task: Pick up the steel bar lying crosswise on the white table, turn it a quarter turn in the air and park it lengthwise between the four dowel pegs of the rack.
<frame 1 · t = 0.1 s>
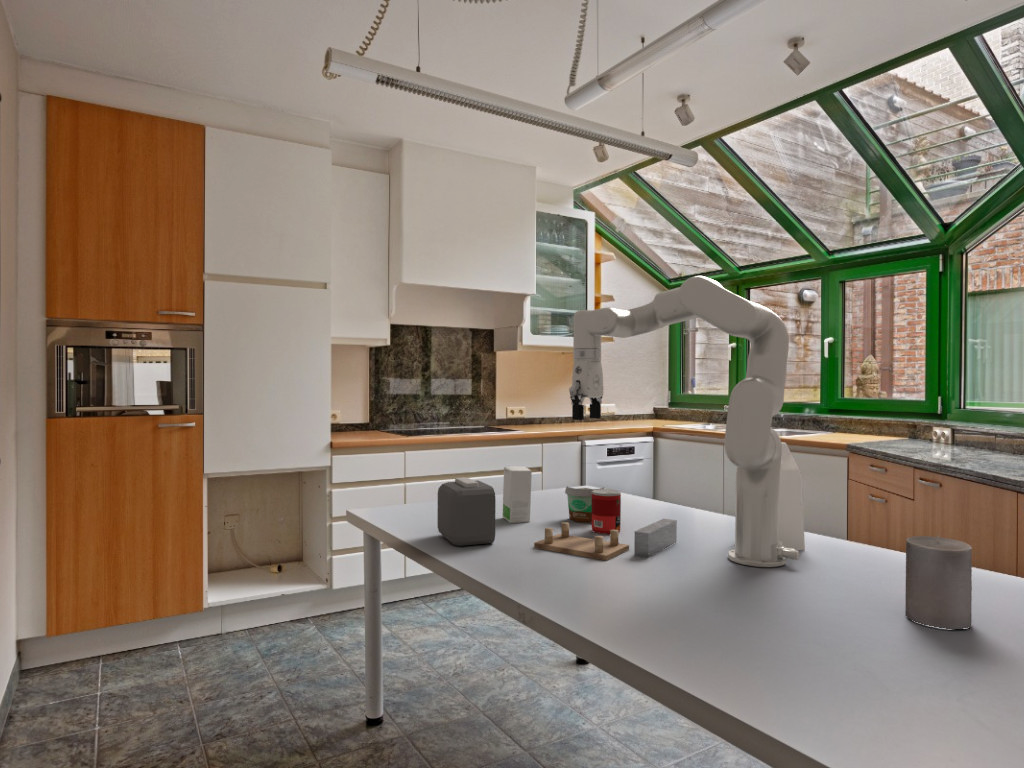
hand: (586, 419, 177), 31 cm above the table, tool pointing down, fingers open, 9 cm apart
rack: (581, 548, 161), on the table
alarm clock: (463, 540, 169), on the table
pillar candle: (937, 622, 113), on the table
milk: (772, 544, 167), on the table
food container: (583, 522, 192), on the table
steel bar: (656, 549, 161), on the table
skincare box: (516, 520, 194), on the table
canned food: (605, 531, 180), on the table
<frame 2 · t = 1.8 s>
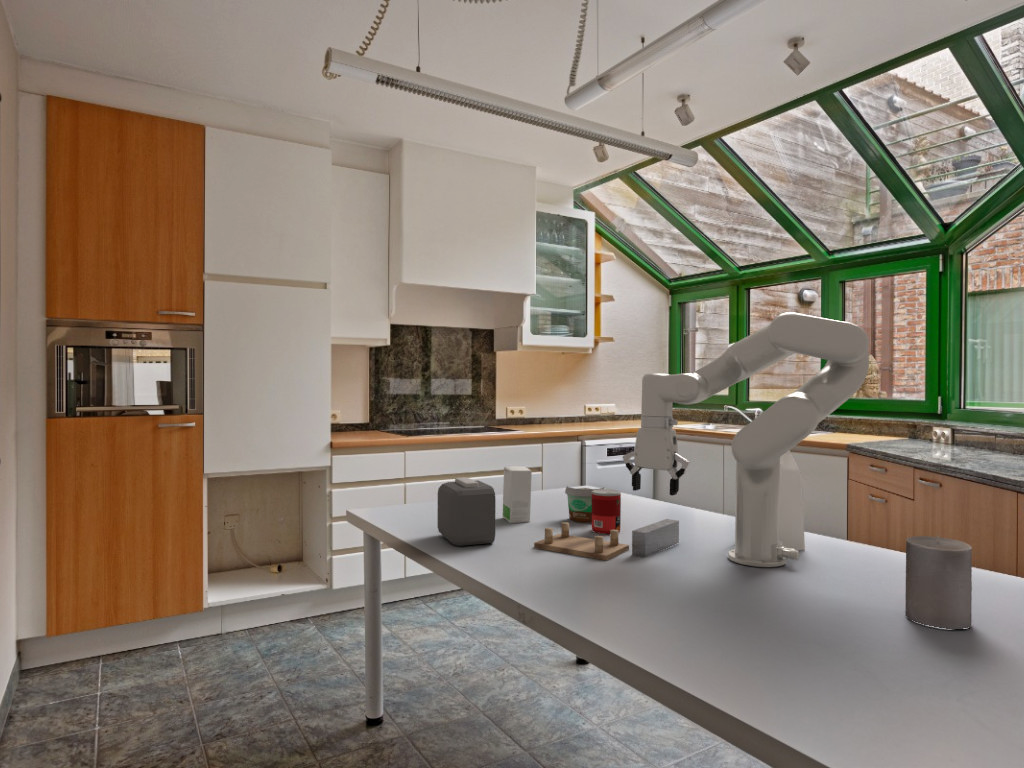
hand: (654, 492, 161), 14 cm above the table, tool pointing down, fingers open, 9 cm apart
nothing on the table moved.
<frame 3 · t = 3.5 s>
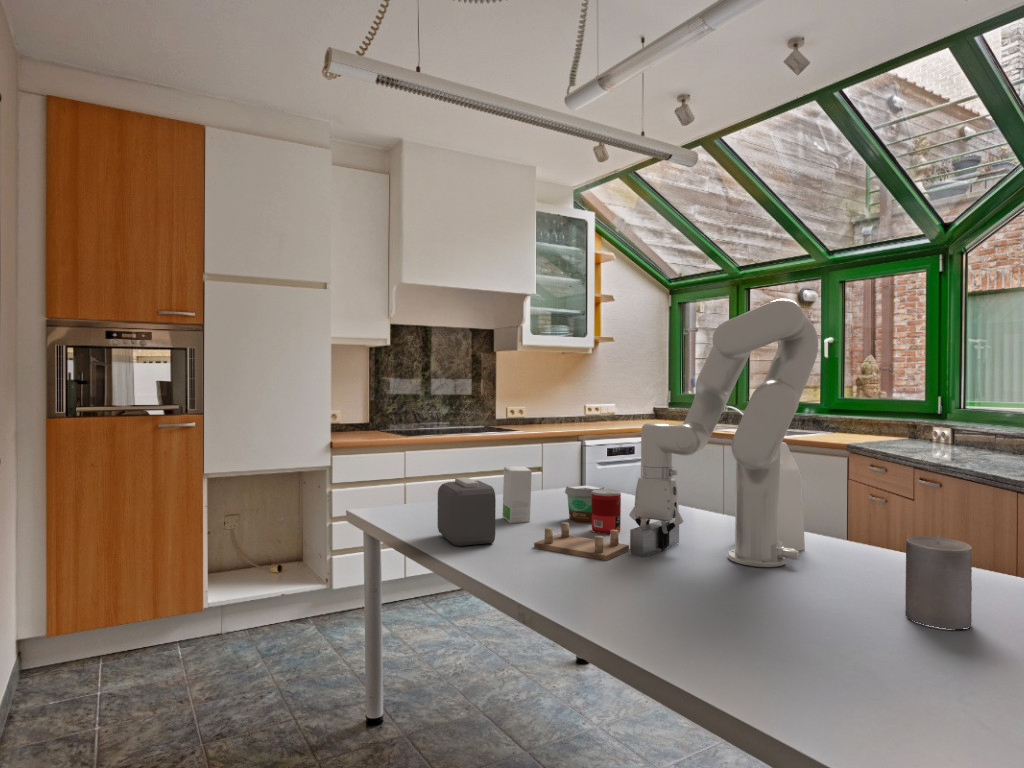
hand: (655, 546, 161), 1 cm above the table, tool pointing down, fingers closed on steel bar, 3 cm apart
steel bar: (655, 548, 161), on the table, touching gripper
everything else where it was.
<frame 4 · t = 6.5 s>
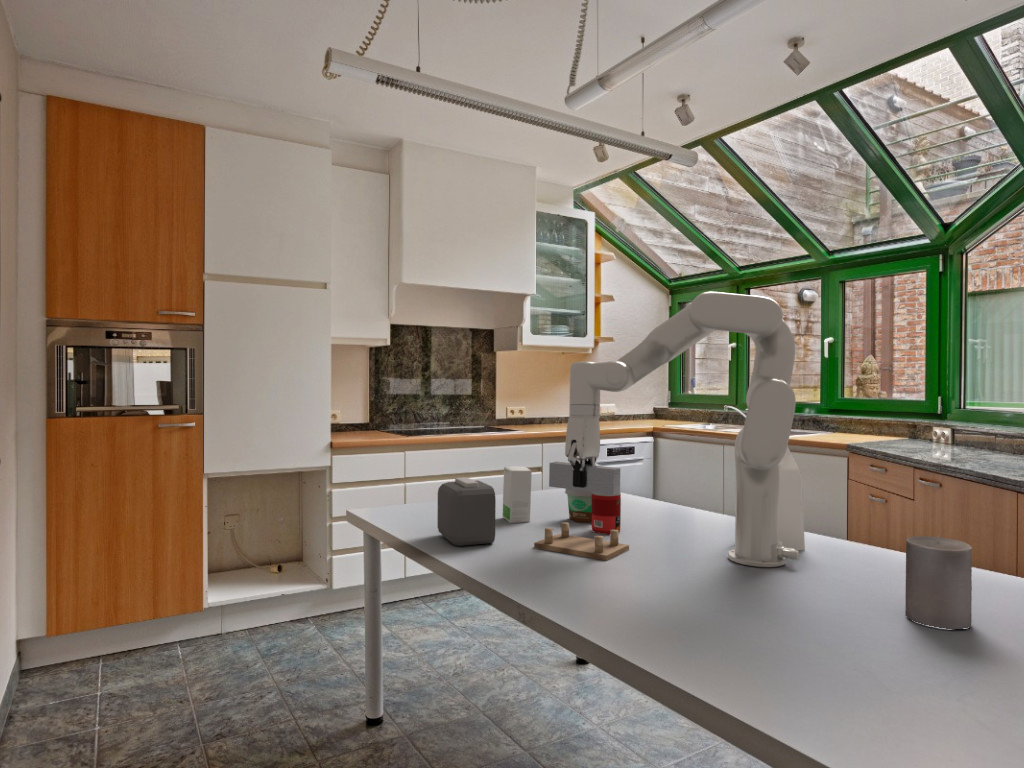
hand: (583, 485, 161), 16 cm above the table, tool pointing down, fingers closed on steel bar, 3 cm apart
steel bar: (583, 489, 161), point 15 cm above the table, touching gripper
everything else where it was.
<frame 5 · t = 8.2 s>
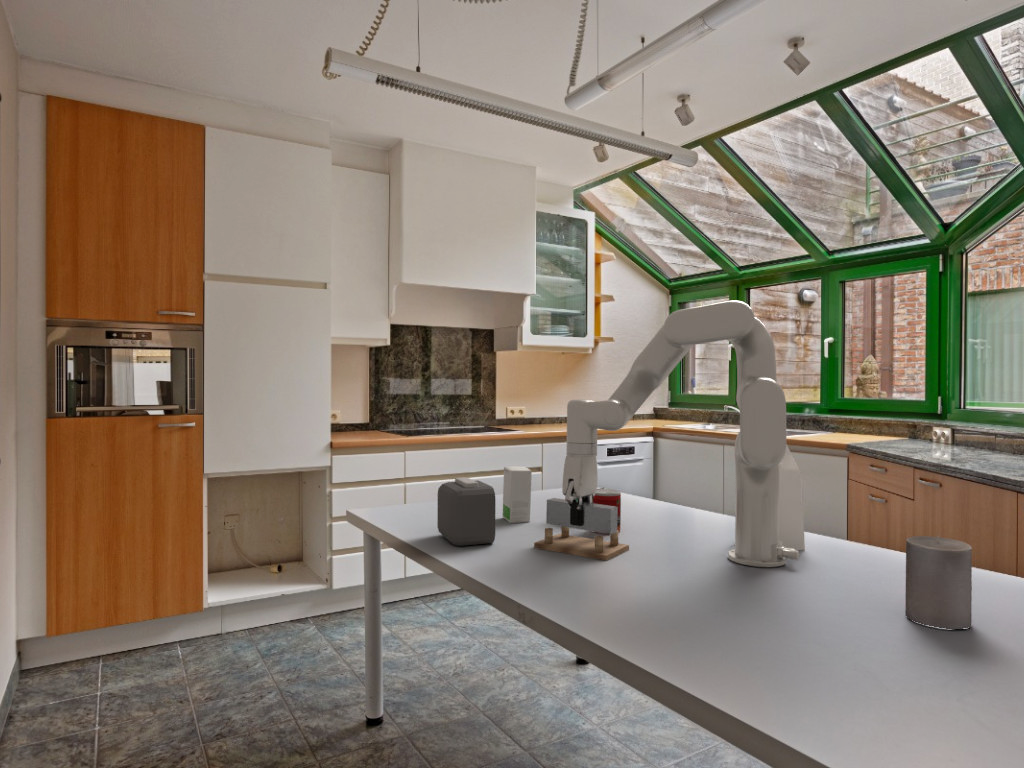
hand: (580, 523, 161), 6 cm above the table, tool pointing down, fingers closed on steel bar, 3 cm apart
steel bar: (580, 527, 161), point 5 cm above the table, touching gripper
everything else where it was.
when the fingers open (3 cm above the table, at t = 9.5 s): steel bar stays where it is, resting on rack.
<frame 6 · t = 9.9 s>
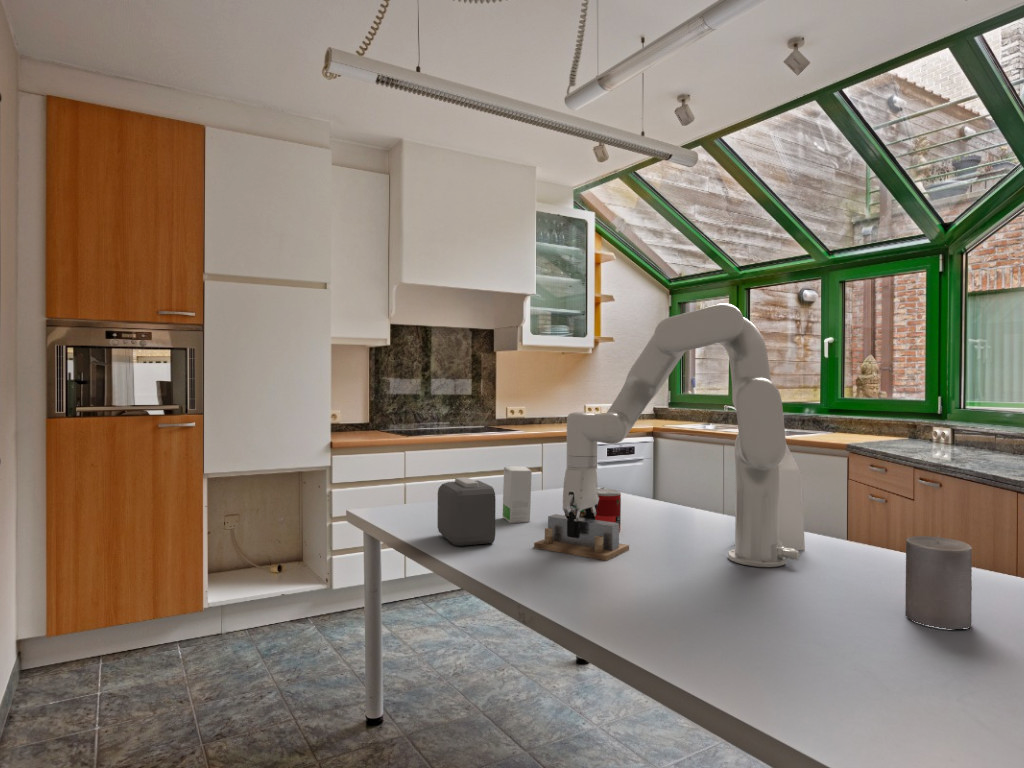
hand: (581, 533, 161), 4 cm above the table, tool pointing down, fingers open, 7 cm apart
steel bar: (582, 544, 161), point 1 cm above the table, touching rack
everything else where it was.
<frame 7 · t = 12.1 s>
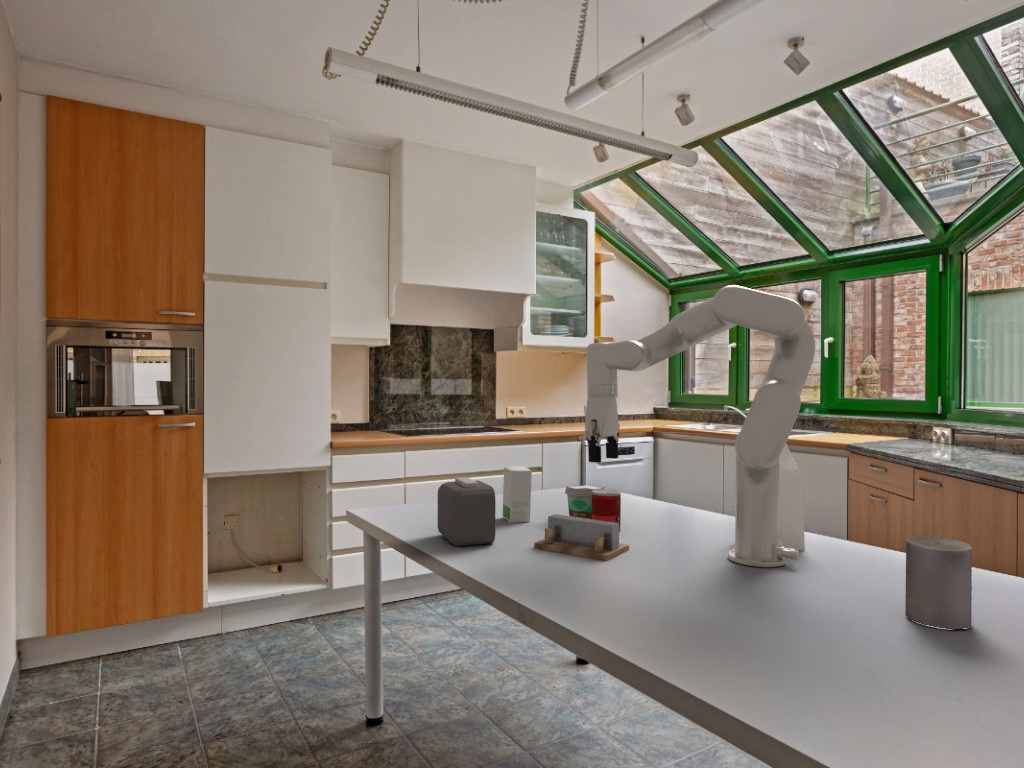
hand: (603, 460, 163), 22 cm above the table, tool pointing down, fingers open, 9 cm apart
nothing on the table moved.
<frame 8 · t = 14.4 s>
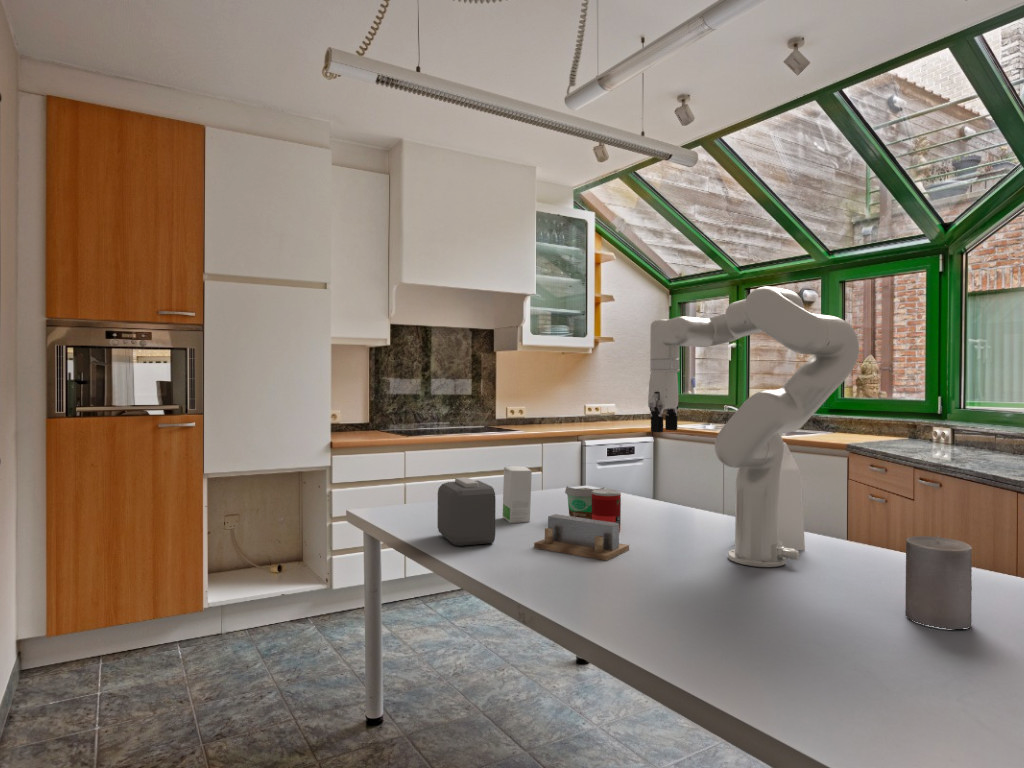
hand: (664, 431, 173), 28 cm above the table, tool pointing down, fingers open, 9 cm apart
nothing on the table moved.
at the end: steel bar inside the target area on the rack (0.4 cm from its centre), point 1.2 cm above the rack's base; the gripper is holding nothing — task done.
